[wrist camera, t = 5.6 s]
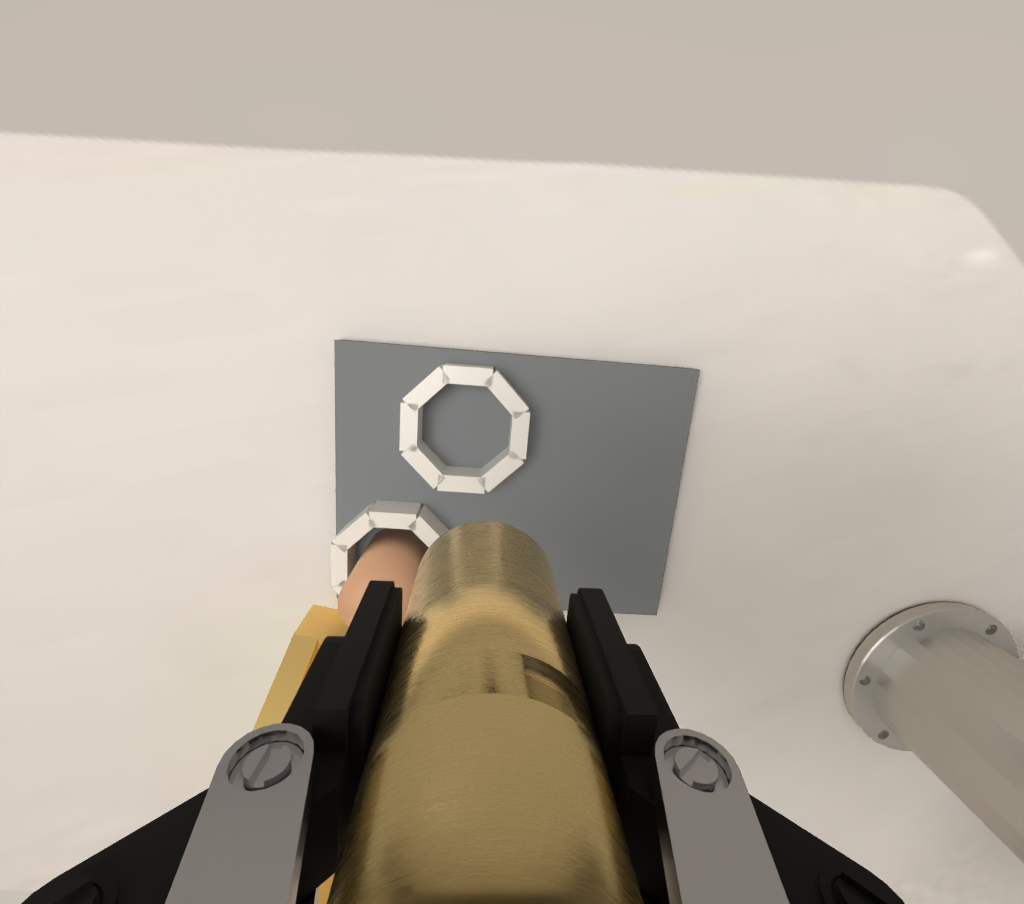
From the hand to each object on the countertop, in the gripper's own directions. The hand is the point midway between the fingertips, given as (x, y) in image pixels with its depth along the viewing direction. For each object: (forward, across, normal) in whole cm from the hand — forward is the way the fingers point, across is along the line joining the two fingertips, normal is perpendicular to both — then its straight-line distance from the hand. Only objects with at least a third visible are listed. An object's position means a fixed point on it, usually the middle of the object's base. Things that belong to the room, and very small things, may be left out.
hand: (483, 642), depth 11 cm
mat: (+20, -2, +3) cm, 20 cm away
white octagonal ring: (+19, +1, -1) cm, 19 cm away
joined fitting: (+19, +5, +8) cm, 21 cm away
